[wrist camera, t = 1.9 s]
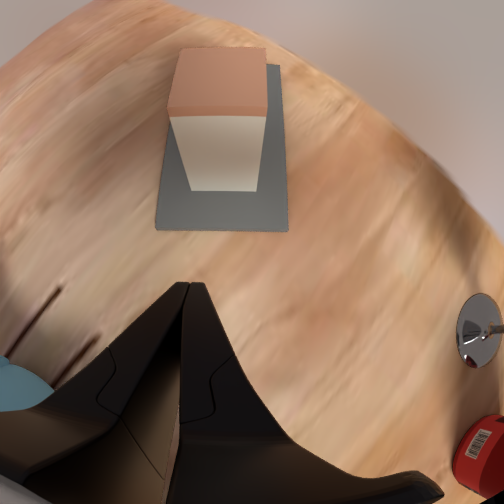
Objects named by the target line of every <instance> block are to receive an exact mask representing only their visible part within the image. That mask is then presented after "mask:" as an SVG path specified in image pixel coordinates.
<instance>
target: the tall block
mask: <svg viewBox="0 0 504 504" xmlns="http://www.w3.org/2000/svg"><path fill="white" fill-rule="evenodd" d="M267 108H268V100H267V70H266V48H256V47H200V48H182V49H181V50H180V54H179V57H178V61H177V65H176V69H175V73H174V77H173V81H172V86H171V90H170V94H169V99H168V104H167V111H168V114H169V118H170V121H171V125H172V128H173V131H174V135H175V138H176V142H177V145H178V148H179V152H180V155H181V158H182V162H183V165H184V168H185V172H186V175H187V178H188V181H189V185H190V188H191V191H252V192H256V189H257V182H258V175H259V167H260V160H261V152H262V145H263V138H264V130H265V123H266V116H267Z"/></svg>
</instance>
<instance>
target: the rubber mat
mask: <svg viewBox="0 0 504 504" xmlns="http://www.w3.org/2000/svg"><path fill="white" fill-rule="evenodd" d="M266 70H267V100H268V108H267V116H266V123H265V130H264V138H263V145H262V152H261V160H260V167H259V175H258V182H257V189H256V192H252V191H191V188H190V185H189V181H188V178H187V175H186V172H185V168H184V165H183V162H182V158H181V155H180V152H179V148H178V145H177V142H176V138H175V135H174V131H173V128H172V125H171V121H170V126H169V132H168V137H167V143H166V149H165V156H164V162H163V169H162V176H161V183H160V190H159V198H158V207H157V215H156V225H155V228H156V229H157V230H198V231H260V232H288V230H289V228H288V199H287V175H286V154H285V136H284V119H283V104H282V89H281V76H280V65H271V64H266Z"/></svg>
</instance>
